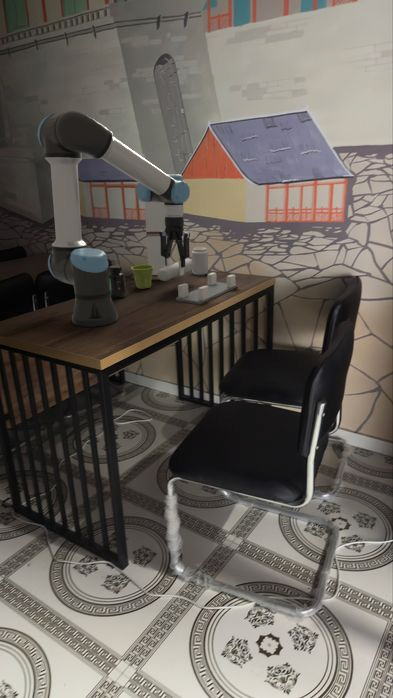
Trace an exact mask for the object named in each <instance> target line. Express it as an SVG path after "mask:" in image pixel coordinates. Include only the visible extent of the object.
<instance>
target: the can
mask: <svg viewBox="0 0 393 698" xmlns="http://www.w3.org/2000/svg"><path fill="white" fill-rule="evenodd" d="M191 260H192V261H193V262H194V267H193V269H192V270H191V271H192V274H193V275H195V276H205V274H206V275H208V274H209V251H208V250H207V248H206V247H194V248H193V249H192V251H191Z"/></svg>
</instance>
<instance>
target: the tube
mask: <svg viewBox="0 0 393 698" xmlns="http://www.w3.org/2000/svg"><path fill="white" fill-rule="evenodd" d="M193 267H194V262H193V261H192V258H190V257H189V258H186V259H185V267H184V274H186V273H187V272H189V271H192V269H193ZM157 275H158V278H159V279H158V280H160V281H163V282H166V281H169V280H172V279H171V278H173V279H174V278H176V277H178V276H179V263H178V261H177V262H175V263H172V264H171V265H169V266H166V267H164V268H161V269H160V270H159V271H158V273H157Z"/></svg>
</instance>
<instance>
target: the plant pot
mask: <svg viewBox="0 0 393 698" xmlns="http://www.w3.org/2000/svg"><path fill="white" fill-rule="evenodd" d="M130 268H131V269H130V270H132V273H133V277H134V282H135V285H136V288H137V289H141V290H144V289H149V288H151V287H152V280H153V279H152V271H153V268H154V266H152V265H148V264H137V265H134V266H133V265H132V266H131V267H130Z"/></svg>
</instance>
